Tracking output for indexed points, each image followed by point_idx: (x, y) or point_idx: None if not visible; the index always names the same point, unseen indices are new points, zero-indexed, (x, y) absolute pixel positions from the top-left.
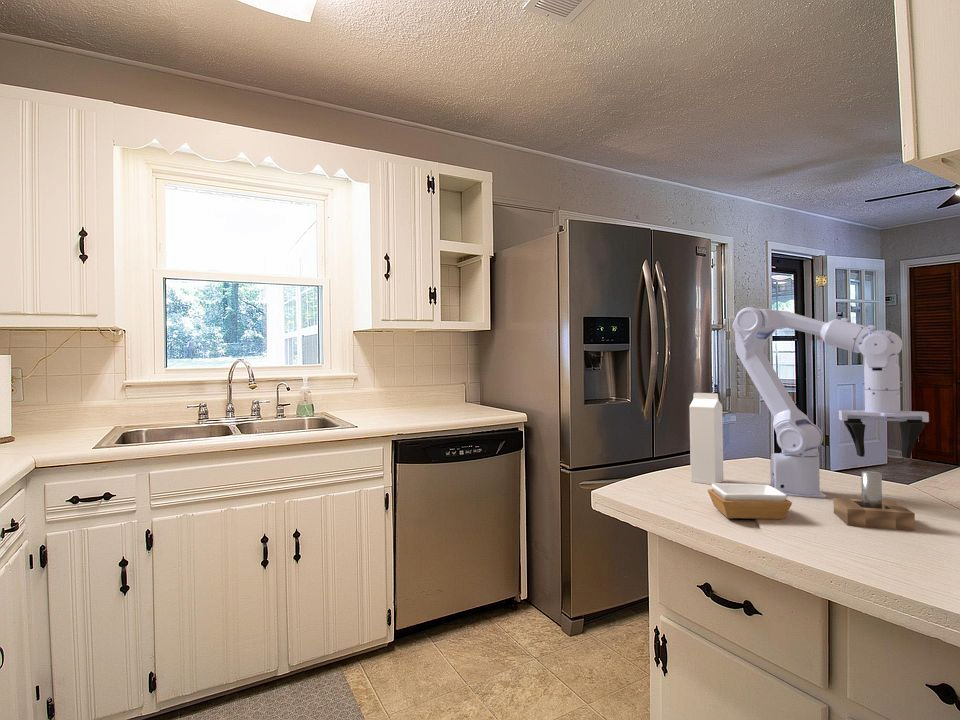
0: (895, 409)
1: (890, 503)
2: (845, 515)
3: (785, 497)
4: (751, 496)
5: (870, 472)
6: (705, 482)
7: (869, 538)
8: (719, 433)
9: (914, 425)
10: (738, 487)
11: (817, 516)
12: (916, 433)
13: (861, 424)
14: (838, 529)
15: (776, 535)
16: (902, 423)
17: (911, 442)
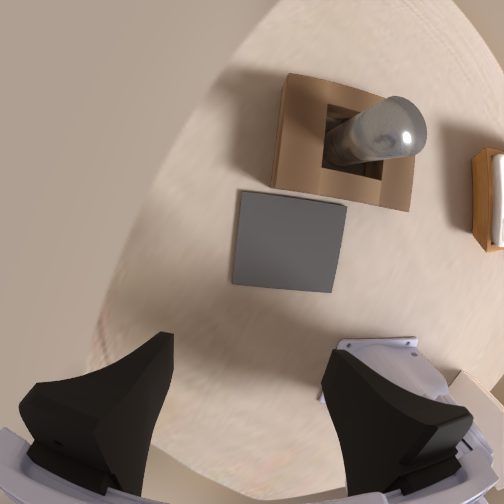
0: None
1: (300, 162)
2: None
3: (498, 154)
4: None
5: (404, 130)
6: (468, 374)
7: (384, 51)
8: (490, 442)
9: (74, 413)
10: None
11: (424, 179)
12: (89, 382)
13: (447, 421)
14: (416, 97)
15: (482, 86)
16: (130, 493)
17: (133, 364)
